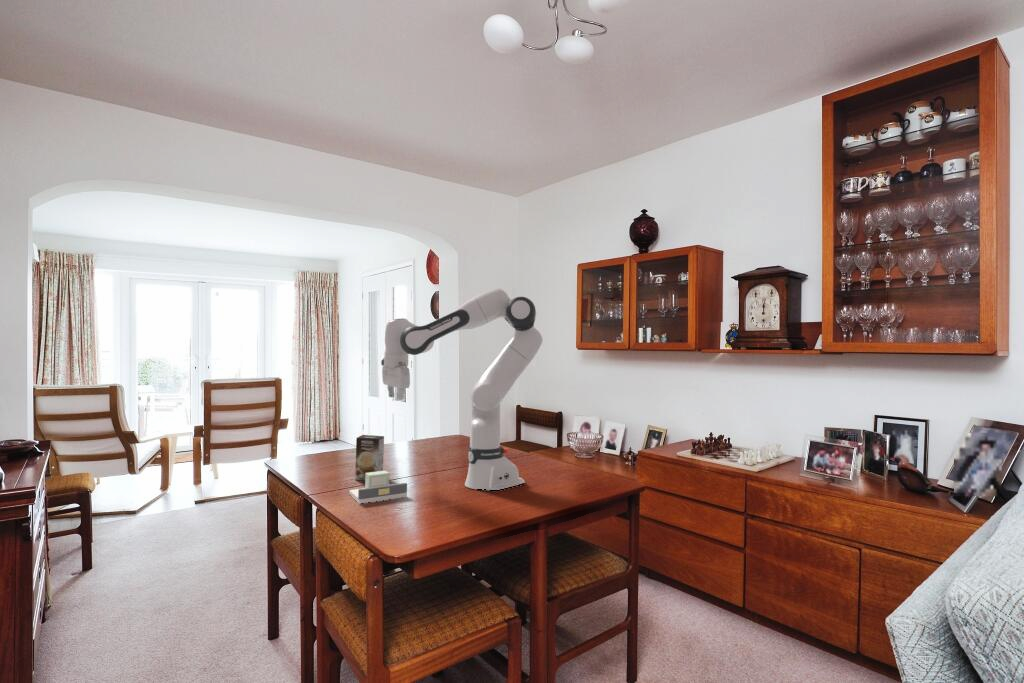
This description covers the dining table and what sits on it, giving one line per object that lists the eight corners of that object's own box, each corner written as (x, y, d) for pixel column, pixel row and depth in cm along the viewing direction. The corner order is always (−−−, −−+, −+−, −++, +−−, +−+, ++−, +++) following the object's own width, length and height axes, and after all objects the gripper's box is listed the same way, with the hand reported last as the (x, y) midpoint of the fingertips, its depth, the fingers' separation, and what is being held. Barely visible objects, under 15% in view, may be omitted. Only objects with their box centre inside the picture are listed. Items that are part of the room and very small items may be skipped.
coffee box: (354, 480, 191) (355, 437, 191) (360, 475, 197) (361, 434, 197) (377, 481, 190) (378, 438, 190) (383, 477, 196) (384, 435, 196)
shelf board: (394, 488, 181) (394, 475, 181) (407, 497, 171) (407, 483, 171) (349, 494, 173) (349, 481, 173) (359, 504, 162) (359, 490, 162)
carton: (365, 490, 173) (365, 472, 173) (385, 487, 176) (385, 470, 177) (368, 493, 169) (369, 475, 169) (389, 490, 173) (389, 473, 173)
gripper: (414, 362, 184) (413, 400, 184) (395, 360, 201) (394, 395, 201) (397, 362, 180) (397, 401, 180) (379, 360, 198) (378, 396, 198)
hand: (395, 398), depth 191 cm, fingers open, 8 cm apart
